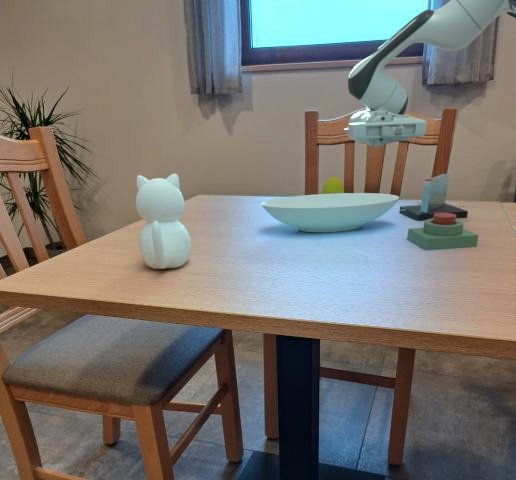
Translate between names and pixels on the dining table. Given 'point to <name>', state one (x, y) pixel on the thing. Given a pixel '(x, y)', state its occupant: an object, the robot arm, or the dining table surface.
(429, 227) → the green base
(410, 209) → the plate
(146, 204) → the cat figurine
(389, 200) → the bowl
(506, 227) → the dining table surface
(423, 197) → the blue card stand
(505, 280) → the dining table surface
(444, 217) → the button
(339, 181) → the lemon
